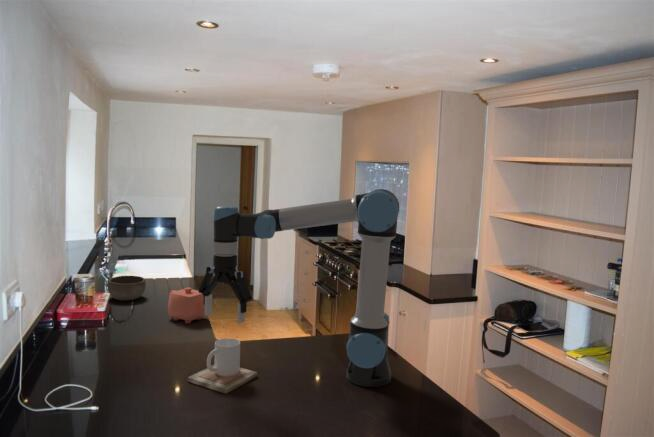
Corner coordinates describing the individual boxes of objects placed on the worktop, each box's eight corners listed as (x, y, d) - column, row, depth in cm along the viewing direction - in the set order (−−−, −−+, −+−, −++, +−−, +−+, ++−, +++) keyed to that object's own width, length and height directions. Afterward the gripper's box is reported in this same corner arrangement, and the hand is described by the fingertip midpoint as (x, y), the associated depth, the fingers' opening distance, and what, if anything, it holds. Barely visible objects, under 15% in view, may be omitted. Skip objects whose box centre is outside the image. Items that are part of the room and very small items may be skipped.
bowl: (138, 304, 256) (138, 283, 255) (101, 302, 256) (101, 282, 255) (150, 295, 273) (150, 276, 272) (116, 293, 274) (116, 274, 272)
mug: (213, 382, 167) (213, 351, 166) (199, 374, 173) (200, 344, 172) (244, 373, 176) (245, 343, 175) (230, 365, 182) (231, 336, 180)
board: (257, 376, 178) (257, 371, 177) (226, 393, 164) (226, 388, 163) (220, 365, 185) (220, 361, 185) (187, 381, 171) (187, 376, 171)
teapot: (217, 320, 236) (217, 289, 235) (197, 327, 225) (197, 295, 223) (180, 311, 247) (181, 282, 245) (160, 318, 236) (160, 287, 234)
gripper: (263, 257, 167) (262, 322, 169) (203, 248, 179) (203, 309, 181) (249, 260, 161) (248, 328, 163) (188, 251, 172) (187, 314, 175)
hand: (224, 318), depth 172 cm, fingers open, 13 cm apart
